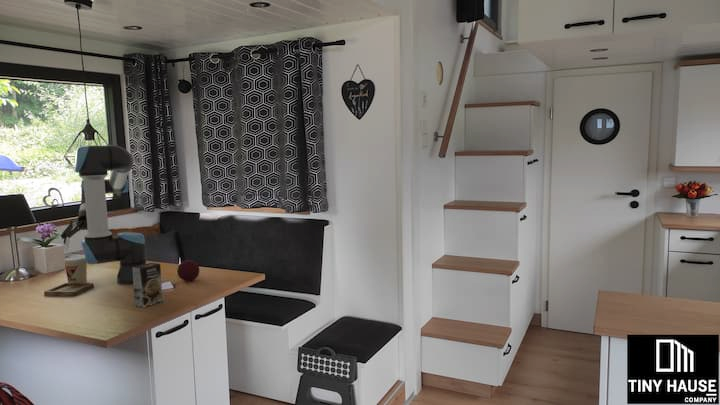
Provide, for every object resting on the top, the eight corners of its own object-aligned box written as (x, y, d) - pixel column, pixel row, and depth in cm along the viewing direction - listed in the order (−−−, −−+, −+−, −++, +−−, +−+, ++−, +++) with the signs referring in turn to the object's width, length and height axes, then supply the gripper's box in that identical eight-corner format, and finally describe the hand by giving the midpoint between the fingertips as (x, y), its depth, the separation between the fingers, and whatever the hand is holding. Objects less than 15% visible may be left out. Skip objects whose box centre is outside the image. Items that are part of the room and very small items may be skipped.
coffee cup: (61, 284, 252) (59, 259, 251) (78, 279, 261) (76, 255, 259) (76, 286, 248) (73, 261, 247) (93, 281, 257) (90, 256, 256)
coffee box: (144, 308, 214) (141, 268, 212) (134, 305, 217) (131, 266, 215) (163, 301, 221) (160, 263, 219) (153, 299, 225) (150, 262, 223)
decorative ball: (198, 283, 249) (197, 262, 248) (176, 284, 248) (174, 263, 247) (201, 277, 259) (200, 257, 258) (179, 278, 258) (178, 258, 257)
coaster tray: (93, 287, 246) (93, 283, 246) (73, 296, 232) (73, 291, 232) (65, 287, 248) (65, 282, 248) (44, 295, 234) (44, 291, 234)
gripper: (114, 217, 281) (110, 250, 269) (62, 219, 276) (55, 254, 263) (111, 208, 276) (106, 242, 263) (58, 210, 270) (50, 245, 257)
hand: (81, 248), depth 263 cm, fingers open, 13 cm apart
